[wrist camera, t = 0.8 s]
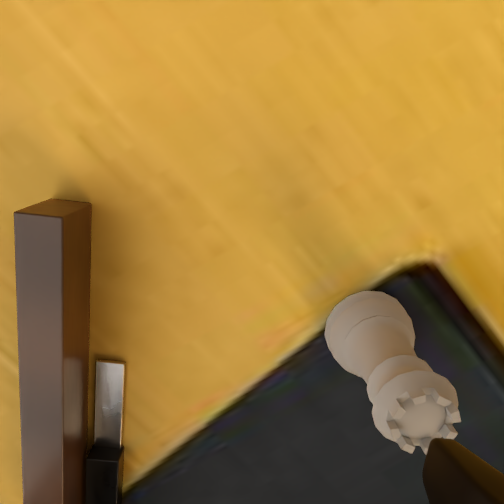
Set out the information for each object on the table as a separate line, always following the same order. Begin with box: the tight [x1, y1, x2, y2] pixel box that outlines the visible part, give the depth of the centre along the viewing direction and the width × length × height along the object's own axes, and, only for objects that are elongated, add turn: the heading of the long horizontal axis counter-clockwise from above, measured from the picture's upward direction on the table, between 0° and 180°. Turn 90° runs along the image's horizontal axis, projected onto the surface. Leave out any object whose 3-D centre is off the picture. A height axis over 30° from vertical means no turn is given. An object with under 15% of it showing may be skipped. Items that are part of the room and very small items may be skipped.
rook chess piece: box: [325, 291, 461, 455], centre depth 19 cm, size 4×4×8 cm
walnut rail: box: [14, 199, 91, 504], centre depth 22 cm, size 20×2×4 cm, turn 173°
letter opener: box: [85, 359, 125, 504], centre depth 24 cm, size 11×2×1 cm, turn 173°
